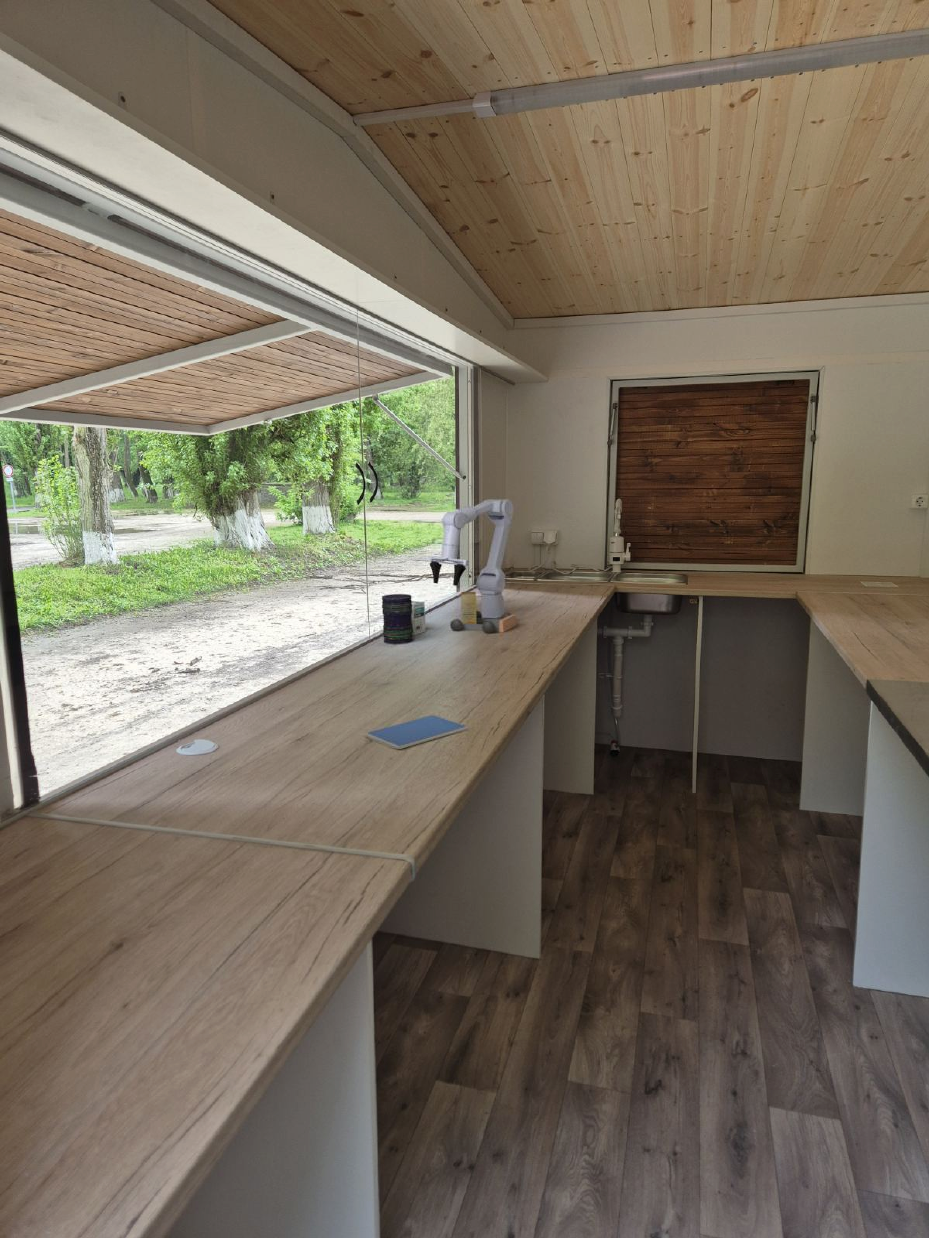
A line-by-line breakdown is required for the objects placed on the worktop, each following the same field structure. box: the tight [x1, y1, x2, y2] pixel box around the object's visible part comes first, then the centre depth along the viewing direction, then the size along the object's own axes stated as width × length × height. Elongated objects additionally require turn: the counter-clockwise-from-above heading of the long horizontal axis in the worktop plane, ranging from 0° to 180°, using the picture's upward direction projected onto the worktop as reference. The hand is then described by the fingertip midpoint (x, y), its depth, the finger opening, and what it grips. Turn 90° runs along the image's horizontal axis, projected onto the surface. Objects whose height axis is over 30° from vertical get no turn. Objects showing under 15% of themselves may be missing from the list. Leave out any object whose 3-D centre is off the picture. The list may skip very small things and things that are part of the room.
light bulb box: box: [411, 600, 427, 636], centre depth 283 cm, size 11×7×11 cm, turn 58°
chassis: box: [450, 610, 517, 634], centre depth 289 cm, size 19×19×4 cm
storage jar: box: [381, 593, 414, 645], centre depth 269 cm, size 10×10×15 cm
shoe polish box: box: [460, 591, 477, 624], centre depth 291 cm, size 5×5×12 cm
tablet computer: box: [364, 714, 469, 750], centre depth 177 cm, size 19×13×1 cm, turn 132°
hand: (445, 584), depth 288 cm, fingers open, 7 cm apart
